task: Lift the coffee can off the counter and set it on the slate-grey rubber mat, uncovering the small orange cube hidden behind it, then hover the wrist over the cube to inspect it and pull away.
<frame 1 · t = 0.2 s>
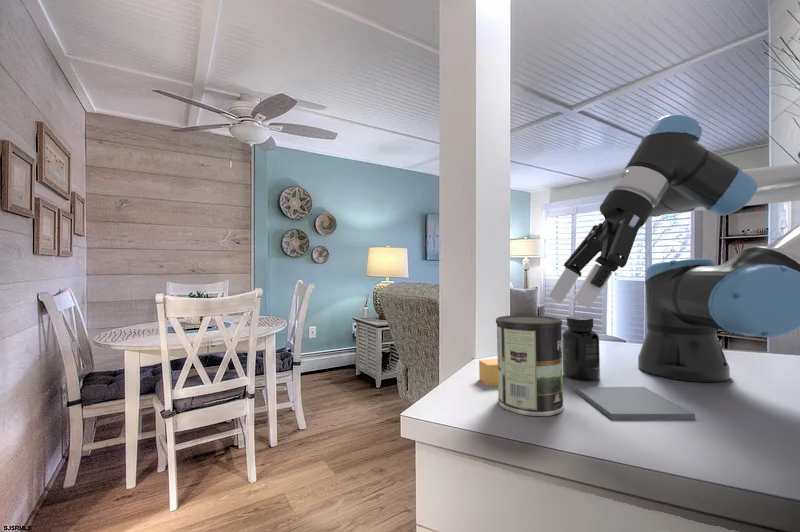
hand: (566, 301, 64), 16 cm above the counter, tool tilted 35°, fingers open, 13 cm apart
coffee can: (529, 405, 60), on the counter
supplement bottle: (580, 377, 74), on the counter
orange cube: (493, 382, 72), on the counter
slate mat: (629, 403, 59), on the counter
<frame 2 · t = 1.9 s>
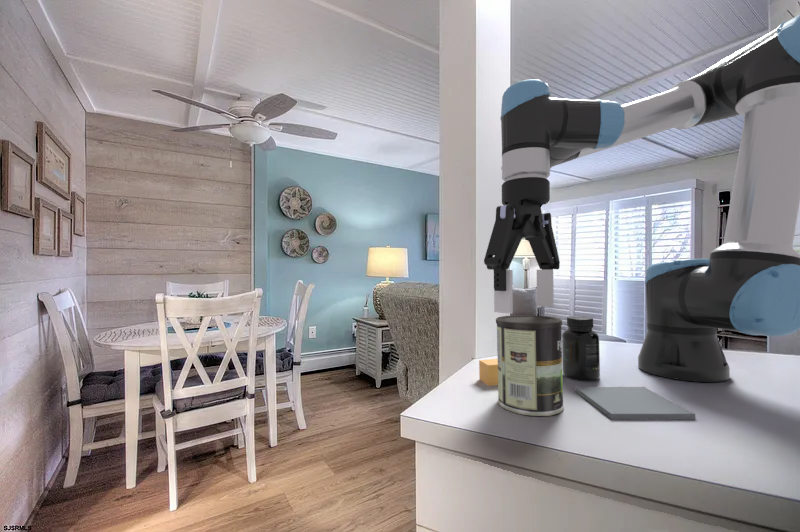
hand: (525, 309, 60), 16 cm above the counter, tool pointing down, fingers open, 13 cm apart
nothing on the counter moved.
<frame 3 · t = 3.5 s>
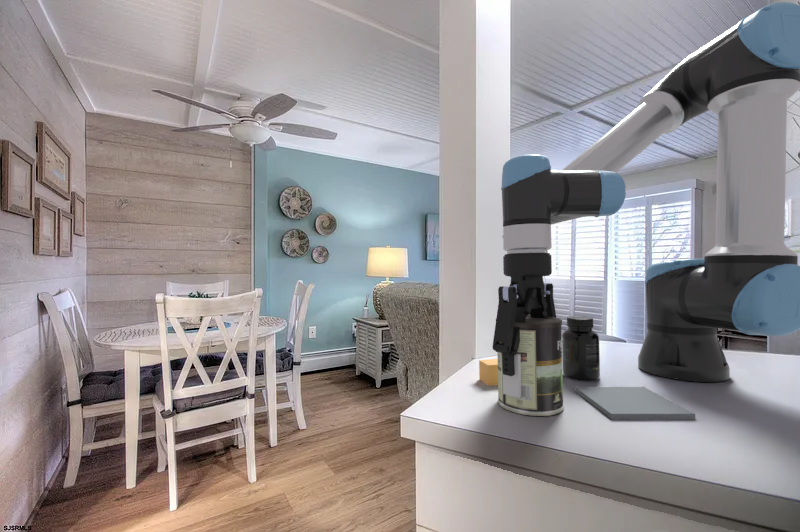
hand: (529, 387, 60), 3 cm above the counter, tool pointing down, fingers closed on coffee can, 10 cm apart
coffee can: (529, 405, 60), on the counter, touching gripper
everything else where it was.
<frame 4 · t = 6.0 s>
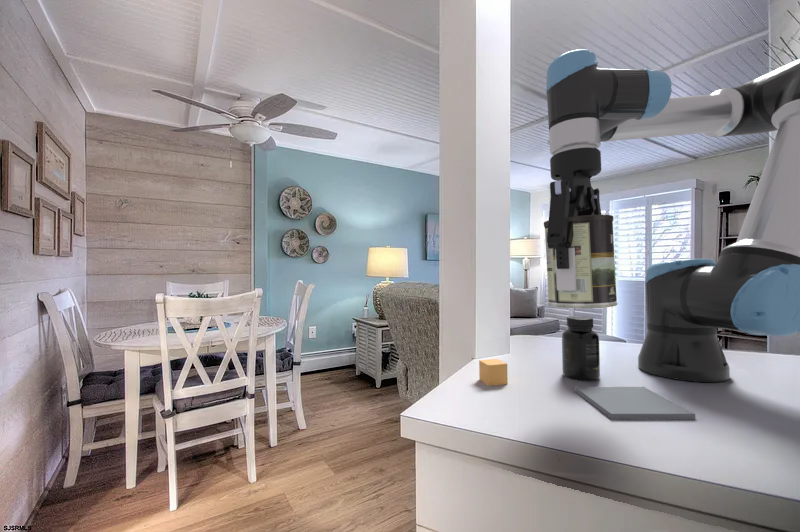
hand: (580, 287, 60), 19 cm above the counter, tool pointing down, fingers closed on coffee can, 10 cm apart
coffee can: (581, 305, 60), point 16 cm above the counter, touching gripper
everything else where it was.
when the fingers open (5 cm above the counter, at t = 8.9 s): coffee can drops 2 cm, resting on slate mat.
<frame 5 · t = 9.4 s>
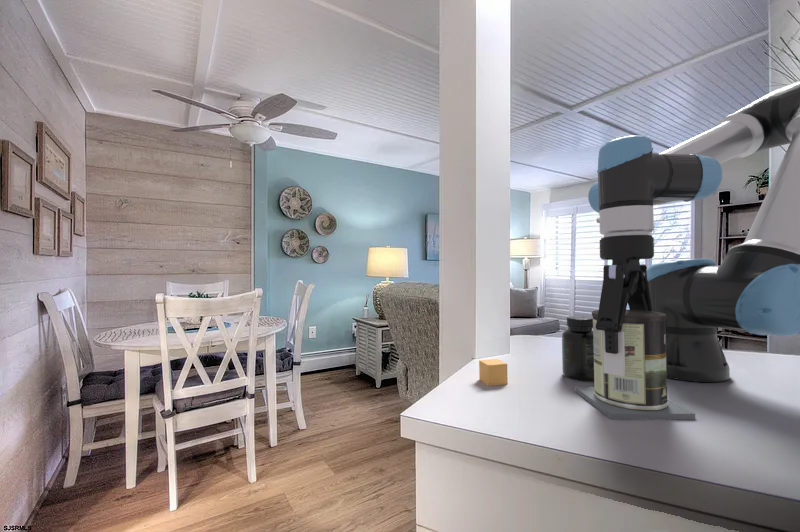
hand: (628, 365, 59), 6 cm above the counter, tool pointing down, fingers open, 13 cm apart
coffee can: (628, 400, 59), point 1 cm above the counter, touching slate mat
everything else where it was.
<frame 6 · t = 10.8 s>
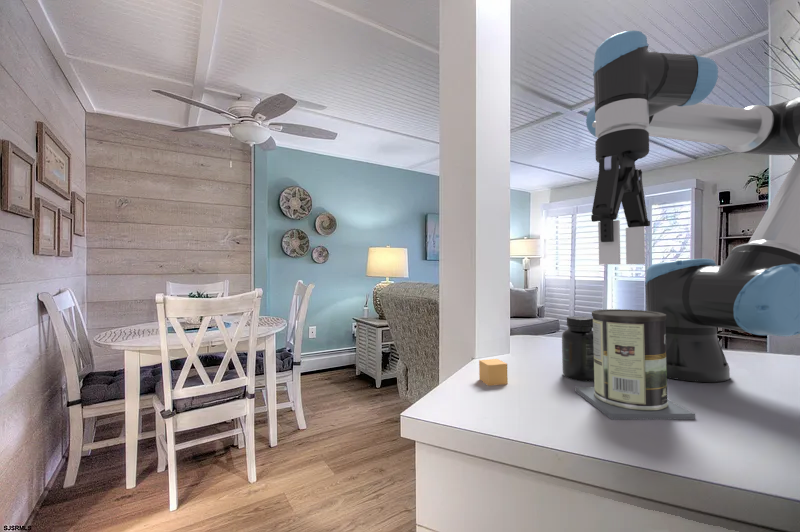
hand: (623, 264, 60), 23 cm above the counter, tool pointing down, fingers open, 13 cm apart
nothing on the counter moved.
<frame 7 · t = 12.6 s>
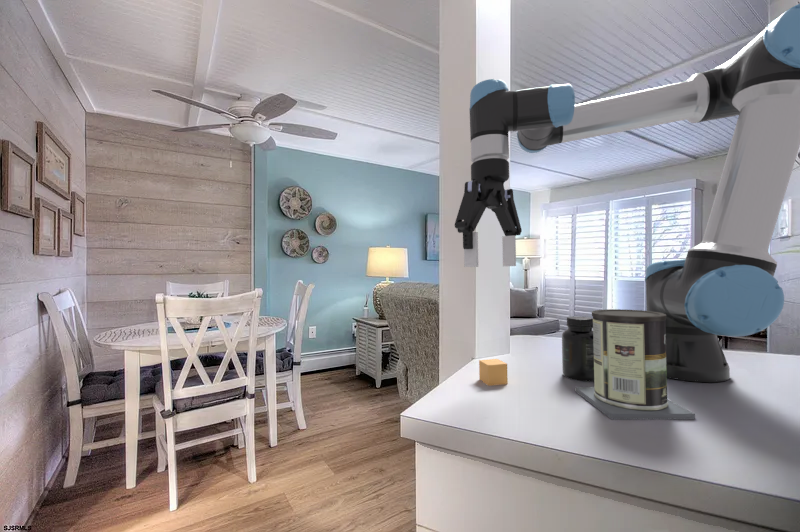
hand: (491, 266, 74), 23 cm above the counter, tool pointing down, fingers open, 13 cm apart
nothing on the counter moved.
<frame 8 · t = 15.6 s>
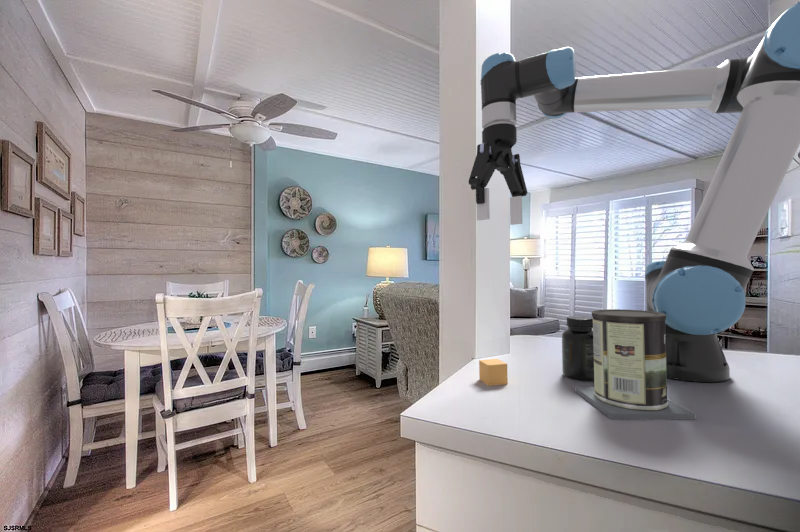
hand: (500, 222, 82), 33 cm above the counter, tool pointing down, fingers open, 13 cm apart
nothing on the counter moved.
at the end: coffee can 0.0 cm off-centre on the slate mat, point 0.6 cm above the slate mat's base; coffee can tilted 0°; orange cube moved 0.1 cm from its start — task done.
